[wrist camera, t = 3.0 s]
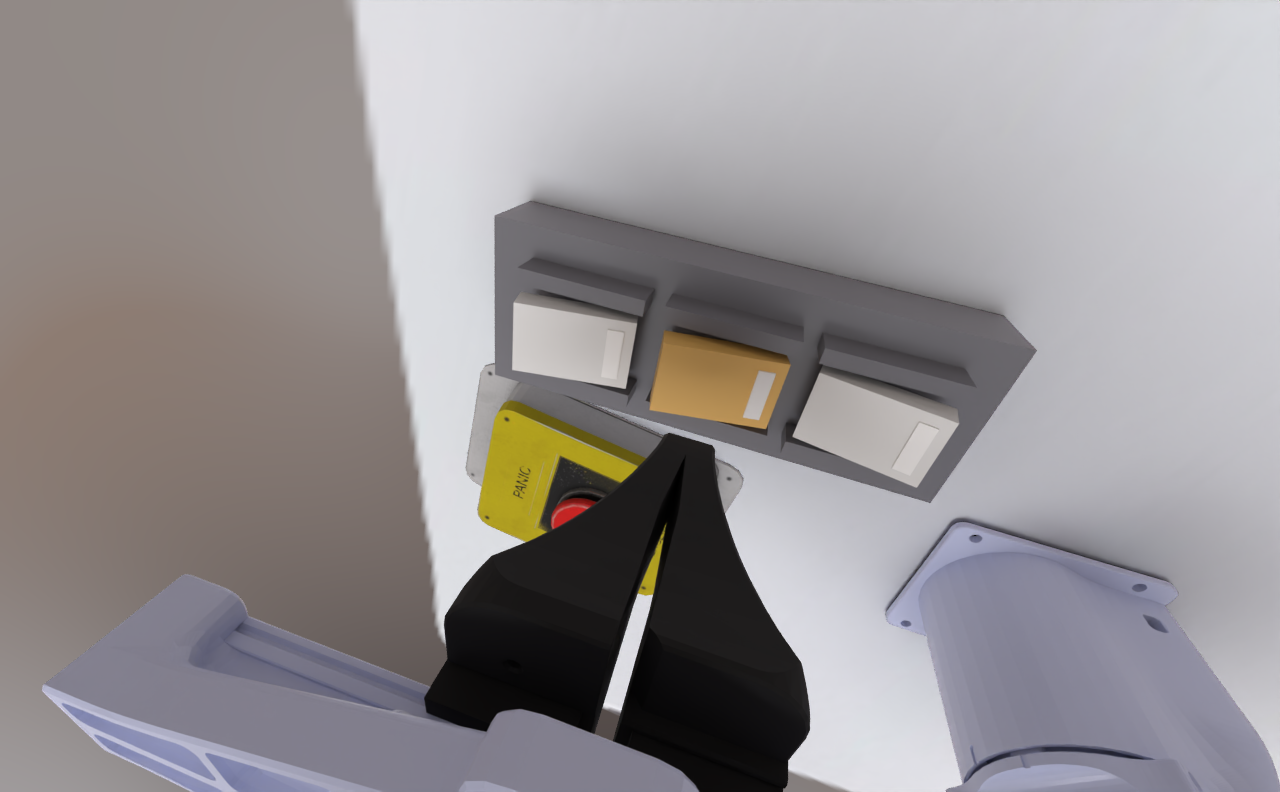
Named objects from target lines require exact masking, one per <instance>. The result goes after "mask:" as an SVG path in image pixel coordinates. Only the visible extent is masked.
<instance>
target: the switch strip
mask: <svg viewBox="0 0 1280 792" xmlns="http://www.w3.org/2000/svg"><path fill="white" fill-rule="evenodd" d="M520 292H525V293H531V294H537V295H543V296H548V297H554V298H560V299H566V300H571V301H577V302H583V303H589V304H594V305H600V306H604V307H608V308H612V309H615V310H619V311H623V312H627V313H630V314H634V315H638V321H637V327H636V333H635V339H634V344H633V350H632V356H631V361H630V367H629V373H628V378H627V384H626V389H624V388H618V387H612V386H606V385H600V384H594V383H588V382H582V381H576V380H570V379H564V378H558V377H552V376H546V375H540V374H534V373H528V372H522V371H516V370H512V355H513V306H514V301H515V300H516V298H517V297H518V295H519V294H520ZM664 330H666V331H672V332H677V333H683V334H689V335H695V336H701V337H706V338H712V339H718V340H724V341H730V342H735V343H741V344H747V345H750V346H754V347H758V348H762V349H765V350H769V351H773V352H777V353H780V354H784V355H787V357H788V359H789V362H790V364H791V366H790V368H789V371H788V374H787V376H786V379H785V381H784V384H783V386H782V389H781V392H780V394H779V397H778V399H777V402H776V404H775V407H774V410H773V412H772V415H771V417H770V420H769V422H768V425H767V428H766V429H762V428H756V427H750V426H744V425H738V424H732V423H726V422H719V421H713V420H707V419H701V418H695V417H689V416H683V415H677V414H671V413H665V412H659V411H653V410H650V395H651V390H652V386H653V381H654V376H655V371H656V367H657V362H658V357H659V352H660V348H661V343H662V338H663V333H664ZM1036 351H1037V350H1036V349H1035V348H1034V347H1033V346H1032V345H1031V344H1030V343H1029V342H1028V341H1027V340H1026V339H1025V338H1024V337H1023V335H1022V334H1021V333H1020V332H1019V331H1018V330H1017V329H1016V328H1015V327H1014V326H1013V325H1012V324H1011V323H1010V322H1009V321H1008V320H1007V319H1006V318H1005V317H1004V316H1002V315H998V314H994V313H990V312H986V311H982V310H978V309H974V308H969V307H965V306H961V305H957V304H953V303H949V302H945V301H941V300H936V299H932V298H928V297H924V296H920V295H916V294H912V293H908V292H903V291H899V290H895V289H891V288H887V287H883V286H879V285H874V284H870V283H866V282H862V281H858V280H854V279H850V278H846V277H841V276H837V275H833V274H829V273H825V272H821V271H817V270H813V269H808V268H804V267H800V266H796V265H792V264H788V263H784V262H780V261H775V260H771V259H767V258H763V257H759V256H755V255H751V254H747V253H742V252H738V251H734V250H730V249H726V248H722V247H718V246H714V245H709V244H705V243H701V242H697V241H693V240H689V239H685V238H680V237H676V236H672V235H668V234H664V233H660V232H656V231H652V230H647V229H643V228H639V227H635V226H631V225H627V224H623V223H619V222H614V221H610V220H606V219H602V218H598V217H594V216H590V215H586V214H581V213H577V212H573V211H569V210H565V209H561V208H557V207H553V206H548V205H544V204H540V203H536V202H532V201H529V202H527V203H524V204H522V205H520V206H517V207H515V208H512V209H510V210H507V211H505V212H502V213H500V214H497V215H495V375H497V376H501V377H504V378H508V379H511V380H514V381H518V382H521V383H525V384H528V385H531V386H535V387H538V388H542V389H545V390H548V391H552V392H555V393H559V394H562V395H565V396H569V397H572V398H576V399H579V400H582V401H586V402H589V403H593V404H596V405H599V406H603V407H606V408H610V409H613V410H616V411H620V412H623V413H627V414H630V415H633V416H637V417H640V418H644V419H647V420H650V421H654V422H657V423H661V424H664V425H667V426H671V427H674V428H678V429H681V430H684V431H688V432H691V433H695V434H698V435H701V436H705V437H708V438H712V439H715V440H718V441H722V442H725V443H729V444H732V445H735V446H739V447H742V448H746V449H749V450H752V451H756V452H759V453H763V454H766V455H769V456H773V457H776V458H779V459H783V460H786V461H790V462H793V463H796V464H800V465H803V466H807V467H810V468H813V469H817V470H820V471H824V472H827V473H830V474H834V475H837V476H841V477H844V478H847V479H851V480H854V481H858V482H861V483H864V484H868V485H871V486H875V487H878V488H881V489H885V490H888V491H892V492H895V493H898V494H902V495H905V496H909V497H912V498H915V499H919V500H922V501H926V502H929V503H931V501H932V500H933V498H934V497H935V495H936V494H937V493H938V491H939V490H940V488H941V487H942V485H943V484H944V483H945V481H946V480H947V478H948V477H949V475H950V474H951V473H952V471H953V470H954V468H955V467H956V465H957V464H958V463H959V461H960V460H961V458H962V457H963V455H964V454H965V453H966V451H967V450H968V448H969V447H970V445H971V444H972V443H973V441H974V440H975V438H976V437H977V435H978V434H979V433H980V431H981V430H982V428H983V427H984V425H985V424H986V423H987V421H988V420H989V418H990V417H991V415H992V414H993V413H994V411H995V410H996V408H997V407H998V405H999V404H1000V403H1001V401H1002V400H1003V398H1004V397H1005V395H1006V394H1007V393H1008V391H1009V390H1010V388H1011V387H1012V385H1013V384H1014V383H1015V381H1016V380H1017V378H1018V377H1019V375H1020V374H1021V373H1022V371H1023V370H1024V368H1025V367H1026V365H1027V364H1028V363H1029V361H1030V360H1031V358H1032V357H1033V355H1034V354H1035V353H1036ZM823 365H825V366H829V367H833V368H837V369H840V370H844V371H848V372H852V373H855V374H859V375H863V376H866V377H869V378H872V379H875V380H878V381H880V382H883V383H886V384H889V385H892V386H894V387H897V388H900V389H903V390H906V391H908V392H911V393H914V394H917V395H920V396H922V397H925V398H928V399H931V400H934V401H936V402H939V403H942V404H945V405H948V406H951V407H953V408H956V409H958V418H959V425H958V426H957V428H956V429H955V431H954V432H953V434H952V435H951V437H950V438H949V440H948V441H947V443H946V444H945V446H944V447H943V449H942V450H941V452H940V453H939V455H938V456H937V458H936V459H935V461H934V462H933V464H932V465H931V467H930V469H929V470H928V472H927V473H926V475H925V476H924V478H923V479H922V481H921V482H920V484H919V485H918V487H917V488H916V487H913V486H911V485H909V484H906V483H904V482H901V481H899V480H896V479H894V478H891V477H889V476H887V475H884V474H882V473H879V472H877V471H874V470H872V469H870V468H867V467H865V466H862V465H860V464H857V463H855V462H853V461H850V460H848V459H845V458H843V457H840V456H838V455H835V454H833V453H831V452H828V451H826V450H823V449H821V448H818V447H816V446H814V445H811V444H809V443H806V442H804V441H801V440H799V439H797V438H794V437H792V436H793V434H794V431H795V429H796V426H797V424H798V422H799V419H800V417H801V415H802V412H803V410H804V408H805V405H806V403H807V401H808V398H809V396H810V394H811V392H812V389H813V387H814V385H815V382H816V380H817V378H818V375H819V373H820V371H821V368H822V366H823Z"/></svg>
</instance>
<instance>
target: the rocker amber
mask: <svg viewBox="0 0 1280 792" xmlns="http://www.w3.org/2000/svg"><path fill="white" fill-rule="evenodd" d="M790 366H791V364H790V362H789V359H788V357H787V355H784V354H780V353H777V352H773V351H769V350H765V349H762V348H758V347H754V346H750V345H747V344H741V343H735V342H730V341H724V340H718V339H712V338H706V337H701V336H695V335H689V334H683V333H677V332H672V331H666V330H664V333H663V338H662V343H661V348H660V352H659V357H658V362H657V367H656V371H655V376H654V381H653V386H652V390H651V395H650V410H653V411H659V412H665V413H671V414H677V415H683V416H689V417H695V418H701V419H707V420H713V421H719V422H726V423H732V424H738V425H744V426H750V427H756V428H762V429H766V428H767V425H768V422H769V420H770V417H771V415H772V412H773V410H774V407H775V404H776V402H777V399H778V397H779V394H780V392H781V389H782V386H783V384H784V381H785V379H786V376H787V374H788V371H789V368H790Z"/></svg>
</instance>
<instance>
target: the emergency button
mask: <svg viewBox="0 0 1280 792" xmlns="http://www.w3.org/2000/svg"><path fill="white" fill-rule="evenodd" d="M662 438H663V435H661V434H659V433H656V432H654V431H652V430H649V429H647V428H645V427H643V426H640V425H638V424H636V423H633V422H631V421H629V420H627V419H624V418H622V417H620V416H617V415H615V414H613V413H611V412H608V411H606V410H604V409H601V408H599V407H597V406H595V405H592V404H590V403H588V402H585V401H582V400H579V399H576V398H572V397H569V396H565V395H562V394H559V393H555V392H552V391H548V390H545V389H542V388H538V387H535V386H531V385H528V384H525V383H521V382H518V381H514V380H511V379H508V378H504V377H501V376H497V375H495V364H494V363H493V364H490V365H486V366H485V367H484V368H483V370H482V372H481V374H480V380H479V387H478V393H477V399H476V406H475V412H474V419H473V425H472V431H471V438H470V444H469V450H468V457H467V463H466V471H467V475H468V476H469V477H470V478H471V479H472V481H474V482H476V483H477V484H479V485H480V486H482V488H481V493H480V498H479V503H478V509H477V510H478V516H479V517H480V519H481V520H482V521H483V522H484V523H486V524H487V525H489V526H491V527H493V528H496V529H498V530H500V531H502V532H504V533H506V534H509V535H511V536H513V537H515V538H517V539H520V540H522V541H524V542H528V541H530V540H532V539H534V538H536V537H538V536H540V535H542V534H544V533H546V532H548V531H550V530H552V529H554V528H556V527H558V526H560V525H562V524H564V523H565V522H567V521H569V520H570V519H572V518H574V517H575V516H577V515H578V514H580V513H582V512H583V511H585V510H586V509H588V508H589V507H591V506H592V505H594V504H595V503H596V502H598V501H599V500H601V499H602V498H603V497H605V496H606V495H607V494H608V493H610V492H611V491H612V490H613V489H614V488H616V487H617V486H618V485H619V484H620V483H621V482H623V481H624V480H625V479H626V478H627V477H628V476H629V475H630V474H631V473H633V472H634V471H635V470H636V469H637V467H638V466H639V465H640V464H641V463H642V462H643V461H644V460H645V459H646V458H647V457H648V456H649V455H650V454H651V453H652V451H653V450H654V449H655V448H656V447H657V445H658V444H659V443H660V441H661V440H662ZM715 467H716V475H717V481H718V487H719V491H720V496H721V500H722V505H723V509H724V512H725V513H726V511H727V510H728V508H729V507H730V505H731V503H732V502H733V500H734V499H735V497H736V496H737V494H738V493H739V491H740V489H741V488H742V483H743V477H742V476H741V474H740V472H739V471H738V470H737V469H735V468H734V467H733V466H731V465H729V464H727V463H725V462H723V461H720V460H718V459H716V458H715ZM665 527H666V525H665ZM664 533H665V528H664V530H663V533H662V535H661V538H660V540H659V542H658V545H657V547H656V550H655V552H654V555H653V557H652V559H651V562H650V564H649V567H648V569H647V572H646V574H645V577H644V579H643V581H642V584H641V586H640V589H639V591H638V594H642V595H653V593H654V587H655V582H656V576H657V571H658V565H659V560H660V554H661V549H662V544H663V538H664Z"/></svg>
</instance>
